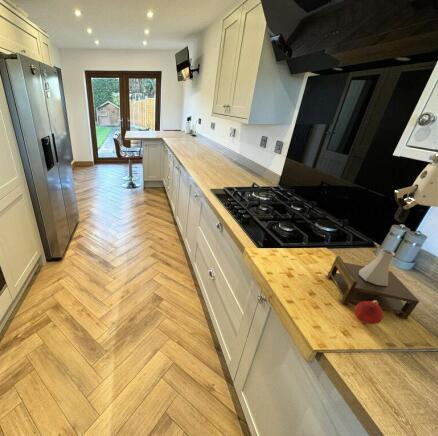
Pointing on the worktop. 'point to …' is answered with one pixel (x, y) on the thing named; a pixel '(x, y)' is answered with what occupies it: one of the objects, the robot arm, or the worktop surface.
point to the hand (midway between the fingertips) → (420, 223)
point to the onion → (369, 312)
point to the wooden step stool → (371, 289)
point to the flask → (378, 269)
